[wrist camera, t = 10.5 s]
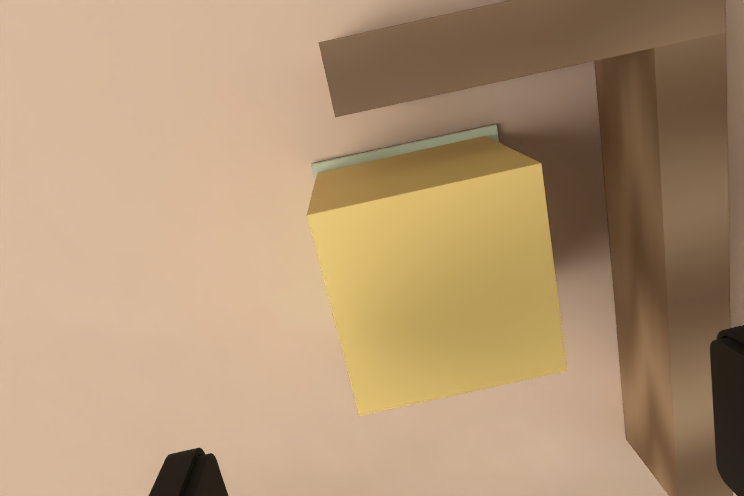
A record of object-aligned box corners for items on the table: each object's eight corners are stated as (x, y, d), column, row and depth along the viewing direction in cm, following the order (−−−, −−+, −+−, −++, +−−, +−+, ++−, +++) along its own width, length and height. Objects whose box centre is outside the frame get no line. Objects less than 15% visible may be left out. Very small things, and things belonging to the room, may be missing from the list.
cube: (484, 135, 20) (541, 163, 14) (508, 291, 22) (567, 371, 16) (317, 173, 20) (307, 215, 14) (354, 325, 22) (358, 416, 16)
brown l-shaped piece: (672, 429, 24) (732, 496, 21) (390, 487, 25) (398, 564, 21) (648, -25, 19) (724, -47, 15) (285, 55, 19) (271, 52, 15)
